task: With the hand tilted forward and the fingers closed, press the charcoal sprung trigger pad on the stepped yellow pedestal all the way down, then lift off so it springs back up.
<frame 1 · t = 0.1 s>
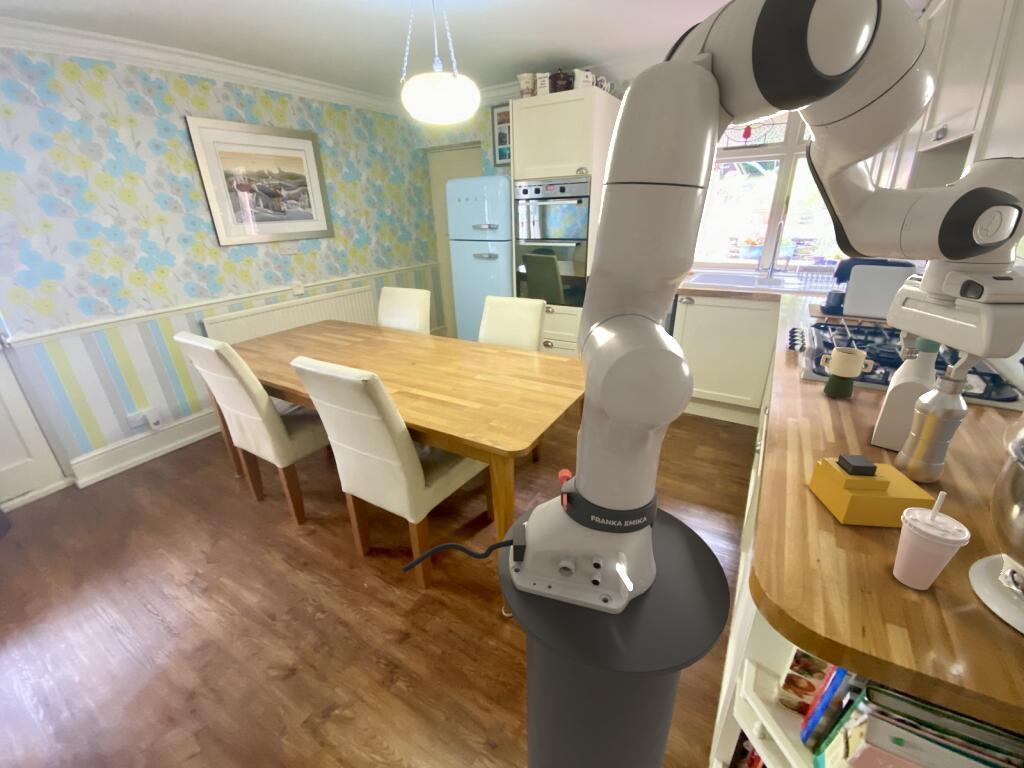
hand: (929, 367, 67), 23 cm above the worktop, tool pointing down, fingers open, 8 cm apart
stepped yellow pedestal: (861, 506, 71), on the worktop
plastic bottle: (913, 478, 79), on the worktop
trigger: (856, 465, 69), point 8 cm above the worktop, slide at 0.1 cm
smoothie: (910, 580, 57), on the worktop
character mug: (836, 396, 114), on the worktop
soap bottle: (886, 439, 92), on the worktop
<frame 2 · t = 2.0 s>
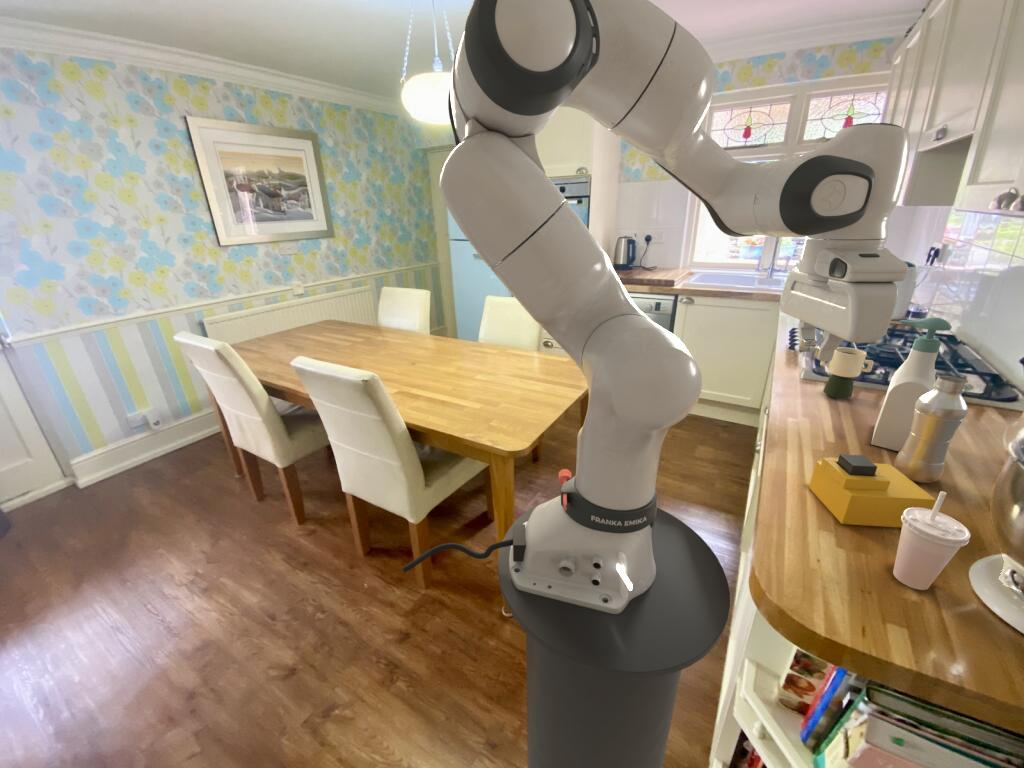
hand: (813, 355, 63), 27 cm above the worktop, tool pointing down, fingers open, 3 cm apart
nothing on the worktop moved.
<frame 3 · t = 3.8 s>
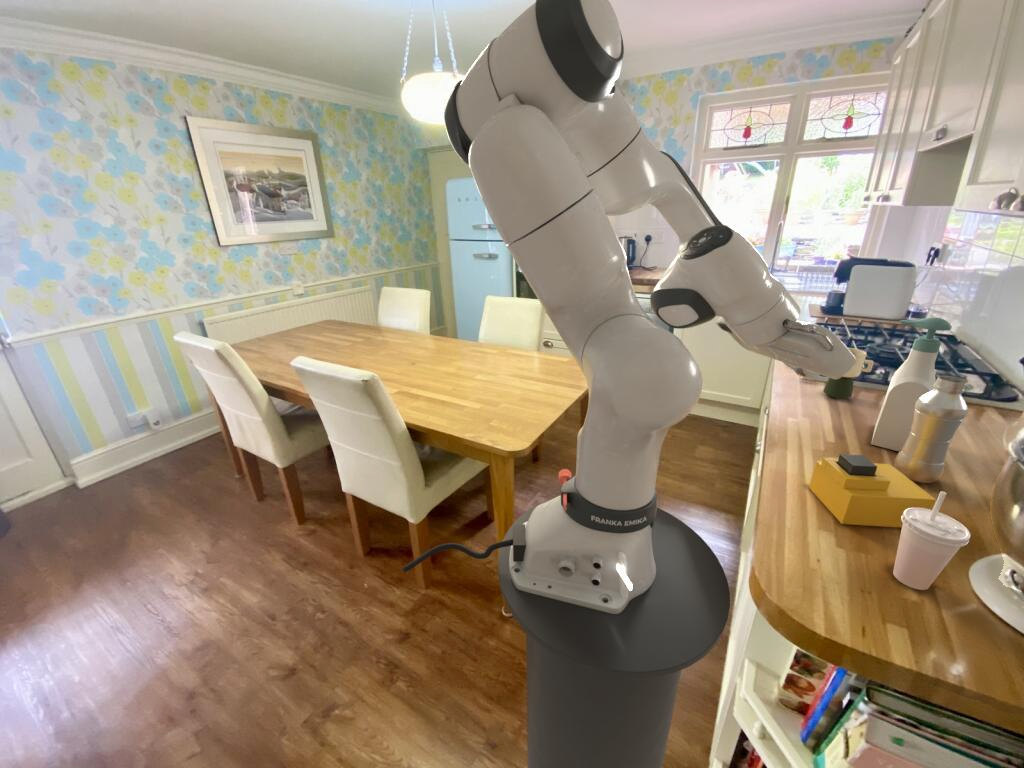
hand: (809, 375, 67), 23 cm above the worktop, tool tilted 45°, fingers closed
nothing on the worktop moved.
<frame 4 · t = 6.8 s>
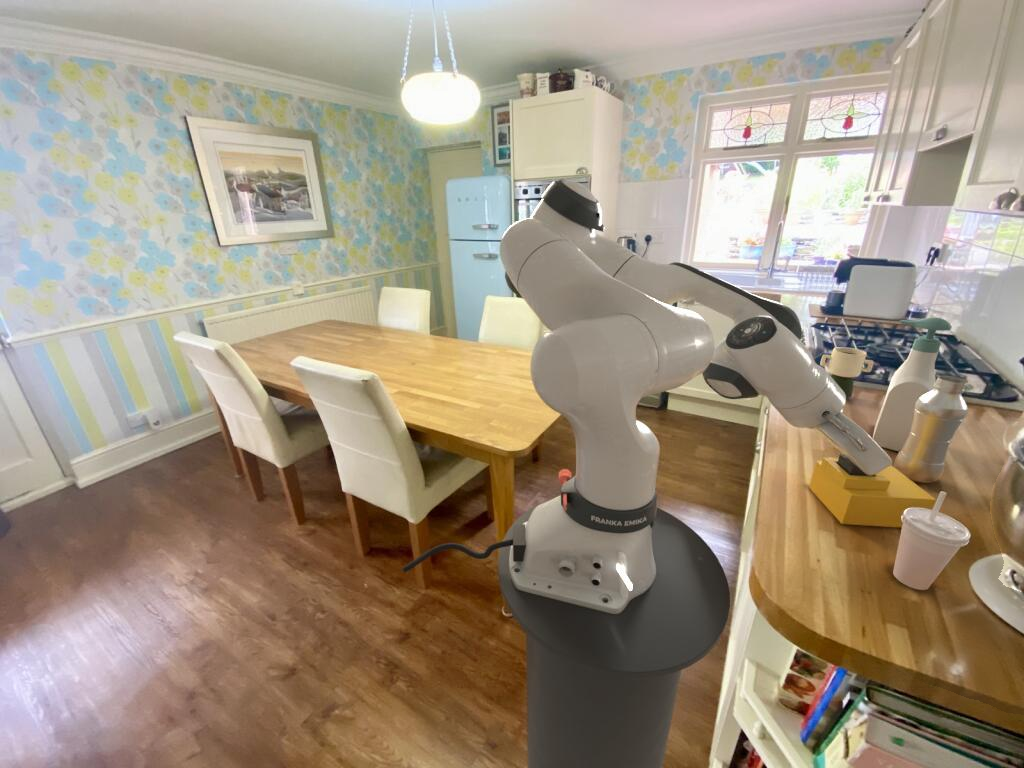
hand: (857, 456, 68), 10 cm above the worktop, tool tilted 45°, fingers closed, pressing on trigger
trigger: (856, 465, 69), point 8 cm above the worktop, slide at 0.1 cm, touching gripper
everything else where it was.
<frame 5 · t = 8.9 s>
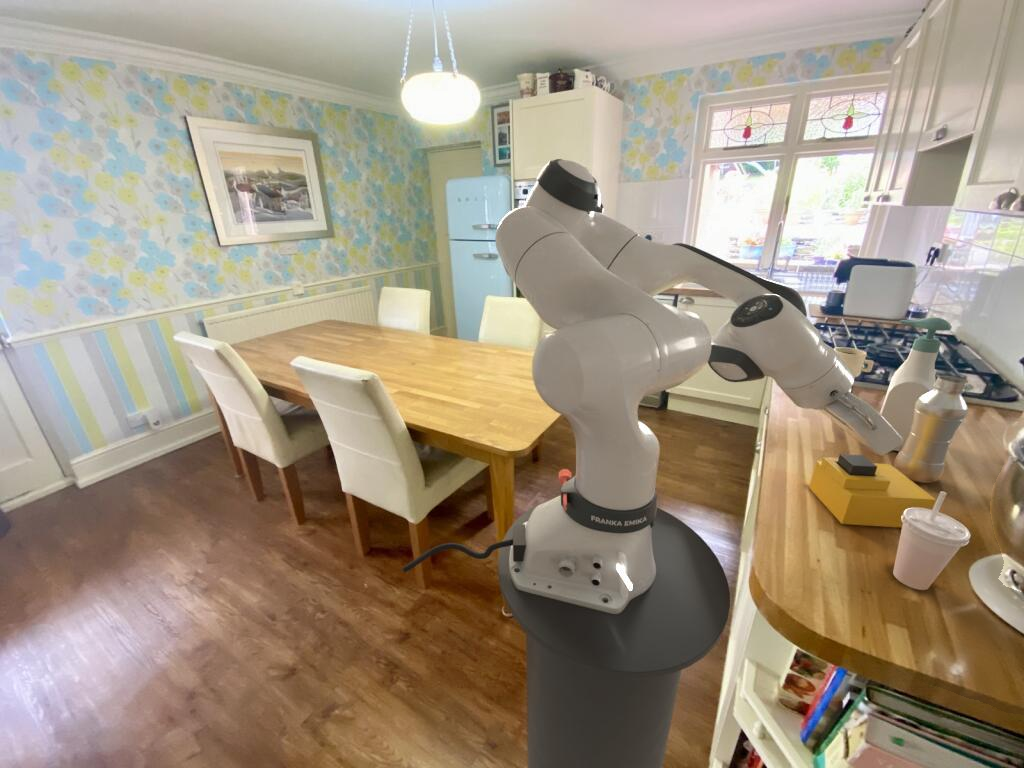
hand: (866, 438, 67), 13 cm above the worktop, tool tilted 45°, fingers closed
trigger: (856, 465, 69), point 8 cm above the worktop, slide at 0.1 cm
everything else where it was.
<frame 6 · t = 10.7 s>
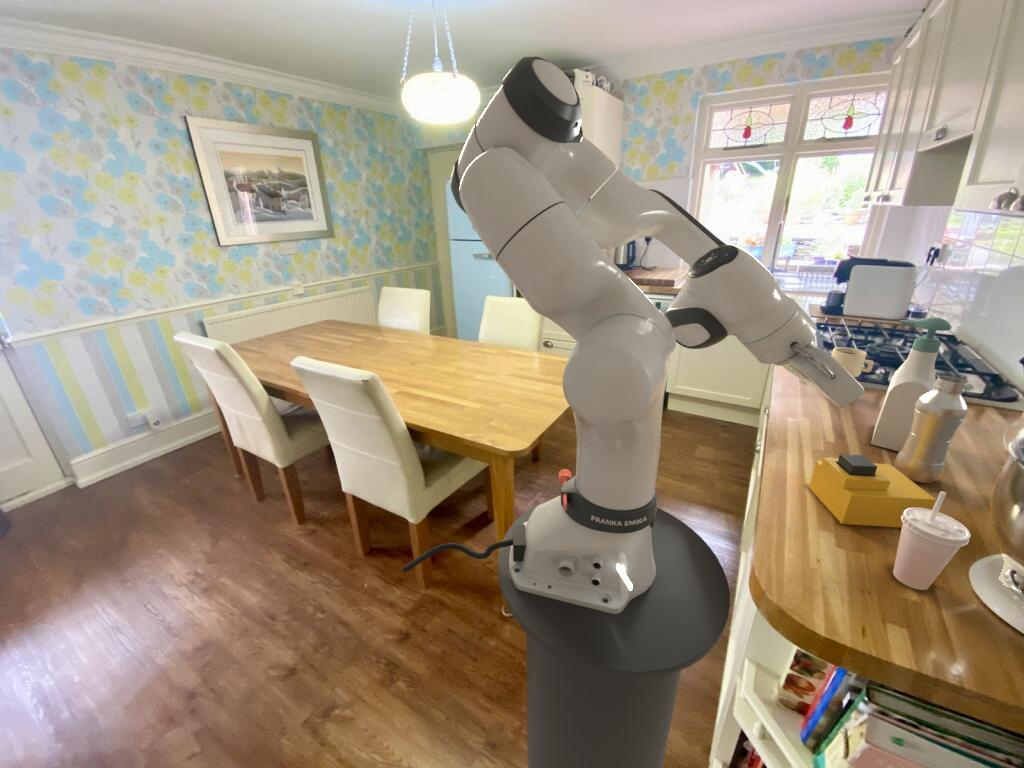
hand: (835, 396, 64), 21 cm above the worktop, tool tilted 45°, fingers closed
nothing on the worktop moved.
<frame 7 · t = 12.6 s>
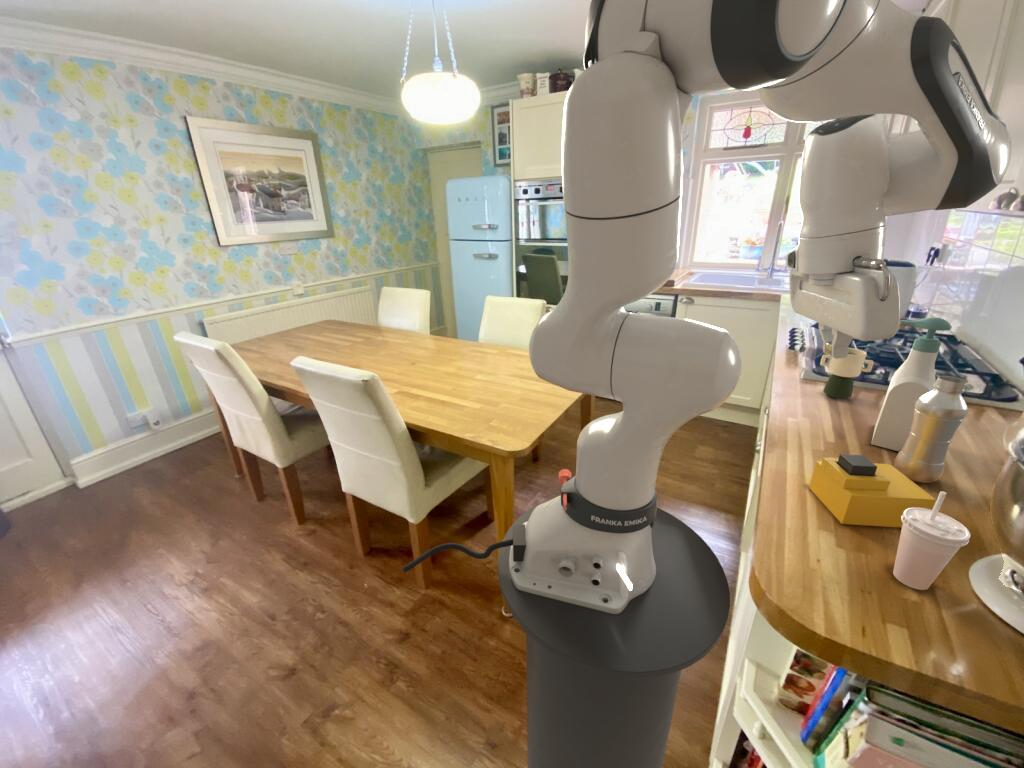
hand: (835, 355, 59), 28 cm above the worktop, tool pointing down, fingers closed
nothing on the worktop moved.
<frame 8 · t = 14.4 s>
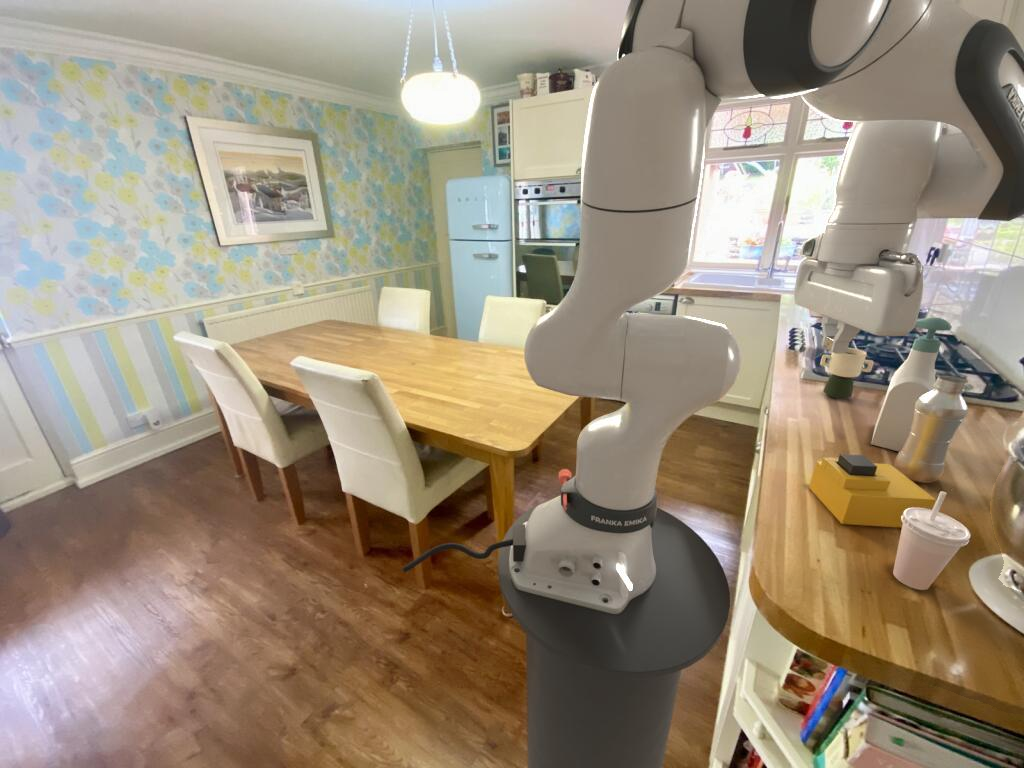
hand: (833, 350, 59), 29 cm above the worktop, tool pointing down, fingers closed
nothing on the worktop moved.
at the end: trigger pushed in 1.3 cm at the most during the clip, back to where it started at the end; trigger slide at 0.1 cm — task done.
